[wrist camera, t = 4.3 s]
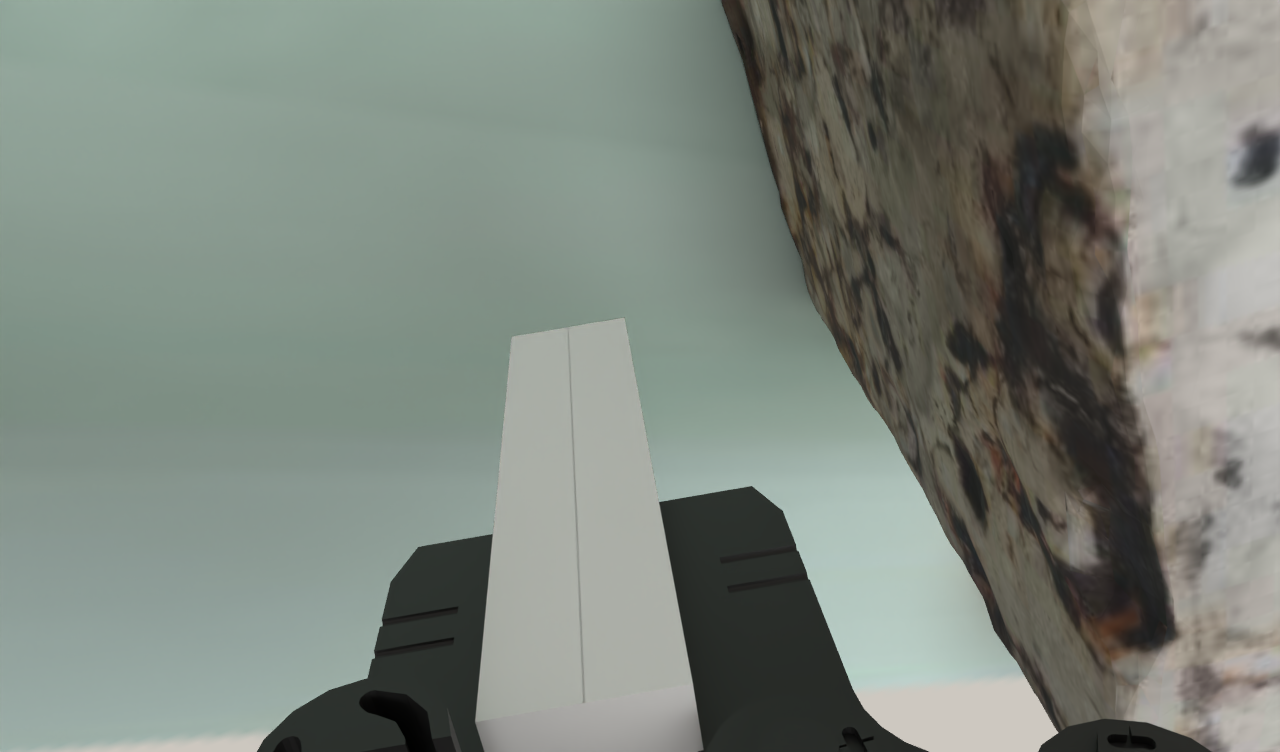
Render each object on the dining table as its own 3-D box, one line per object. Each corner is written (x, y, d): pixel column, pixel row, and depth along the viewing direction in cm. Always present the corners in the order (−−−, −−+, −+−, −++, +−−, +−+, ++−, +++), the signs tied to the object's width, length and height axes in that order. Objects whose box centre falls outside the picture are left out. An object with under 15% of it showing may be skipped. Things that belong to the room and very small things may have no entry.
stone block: (999, 243, 30) (1665, 715, 12) (799, 330, 31) (1151, 895, 13) (884, -198, 24) (1821, -520, 7) (640, -80, 25) (881, -77, 7)
